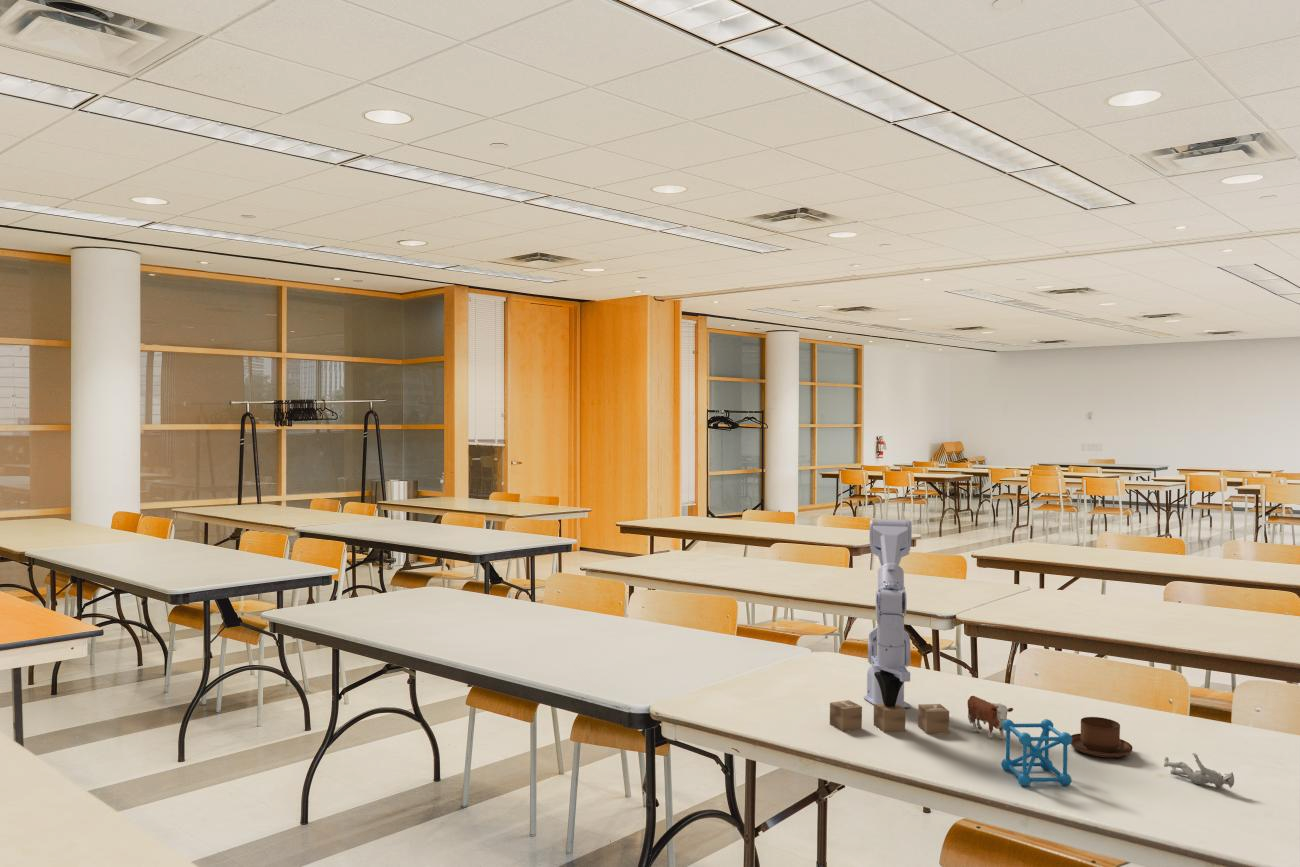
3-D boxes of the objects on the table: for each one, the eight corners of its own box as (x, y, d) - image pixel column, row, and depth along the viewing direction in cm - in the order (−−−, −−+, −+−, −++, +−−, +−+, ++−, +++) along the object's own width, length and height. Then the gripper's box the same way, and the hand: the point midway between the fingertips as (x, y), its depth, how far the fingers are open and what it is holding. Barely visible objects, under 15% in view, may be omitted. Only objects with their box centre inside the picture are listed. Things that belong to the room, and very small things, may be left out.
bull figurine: (1000, 747, 198) (1000, 708, 198) (962, 726, 211) (963, 690, 211) (1018, 745, 199) (1018, 706, 199) (979, 725, 212) (980, 688, 212)
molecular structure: (1049, 768, 186) (1050, 717, 186) (1073, 788, 176) (1074, 734, 176) (999, 768, 186) (1000, 717, 186) (1020, 788, 176) (1021, 734, 176)
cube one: (829, 724, 211) (829, 702, 211) (848, 722, 213) (848, 699, 213) (842, 731, 207) (842, 708, 207) (861, 729, 209) (862, 706, 209)
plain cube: (873, 725, 211) (873, 703, 211) (894, 724, 212) (894, 702, 212) (884, 733, 206) (884, 710, 206) (905, 731, 207) (905, 708, 207)
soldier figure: (1182, 775, 186) (1246, 774, 177) (1178, 797, 183) (1243, 797, 174) (1160, 751, 184) (1223, 748, 175) (1156, 772, 181) (1220, 771, 172)
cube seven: (917, 726, 211) (918, 703, 211) (939, 726, 211) (940, 703, 211) (926, 734, 206) (926, 711, 206) (948, 733, 206) (949, 710, 206)
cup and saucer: (1077, 738, 204) (1077, 709, 204) (1138, 751, 197) (1139, 721, 197) (1060, 753, 195) (1060, 723, 195) (1124, 767, 187) (1124, 736, 187)
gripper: (859, 637, 215) (858, 696, 215) (889, 653, 201) (888, 716, 201) (887, 635, 217) (886, 695, 217) (919, 651, 202) (918, 714, 203)
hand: (889, 705), depth 209 cm, fingers closed
